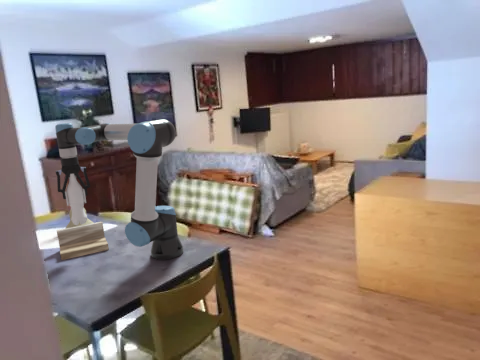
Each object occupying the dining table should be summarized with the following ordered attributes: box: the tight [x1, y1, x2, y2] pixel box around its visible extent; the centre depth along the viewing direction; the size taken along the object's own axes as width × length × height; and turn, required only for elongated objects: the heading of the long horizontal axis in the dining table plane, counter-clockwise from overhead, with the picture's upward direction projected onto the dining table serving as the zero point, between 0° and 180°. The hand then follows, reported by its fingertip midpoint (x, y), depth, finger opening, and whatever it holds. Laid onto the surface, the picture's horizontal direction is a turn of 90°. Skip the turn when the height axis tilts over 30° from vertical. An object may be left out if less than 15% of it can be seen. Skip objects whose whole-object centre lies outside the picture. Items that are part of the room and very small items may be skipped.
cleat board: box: [56, 221, 110, 261], centre depth 205 cm, size 14×22×11 cm, turn 115°
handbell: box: [65, 208, 94, 228], centre depth 238 cm, size 15×15×25 cm
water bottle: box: [66, 174, 88, 225], centre depth 196 cm, size 7×7×25 cm
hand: (76, 203), depth 196 cm, fingers closed on water bottle, 7 cm apart
